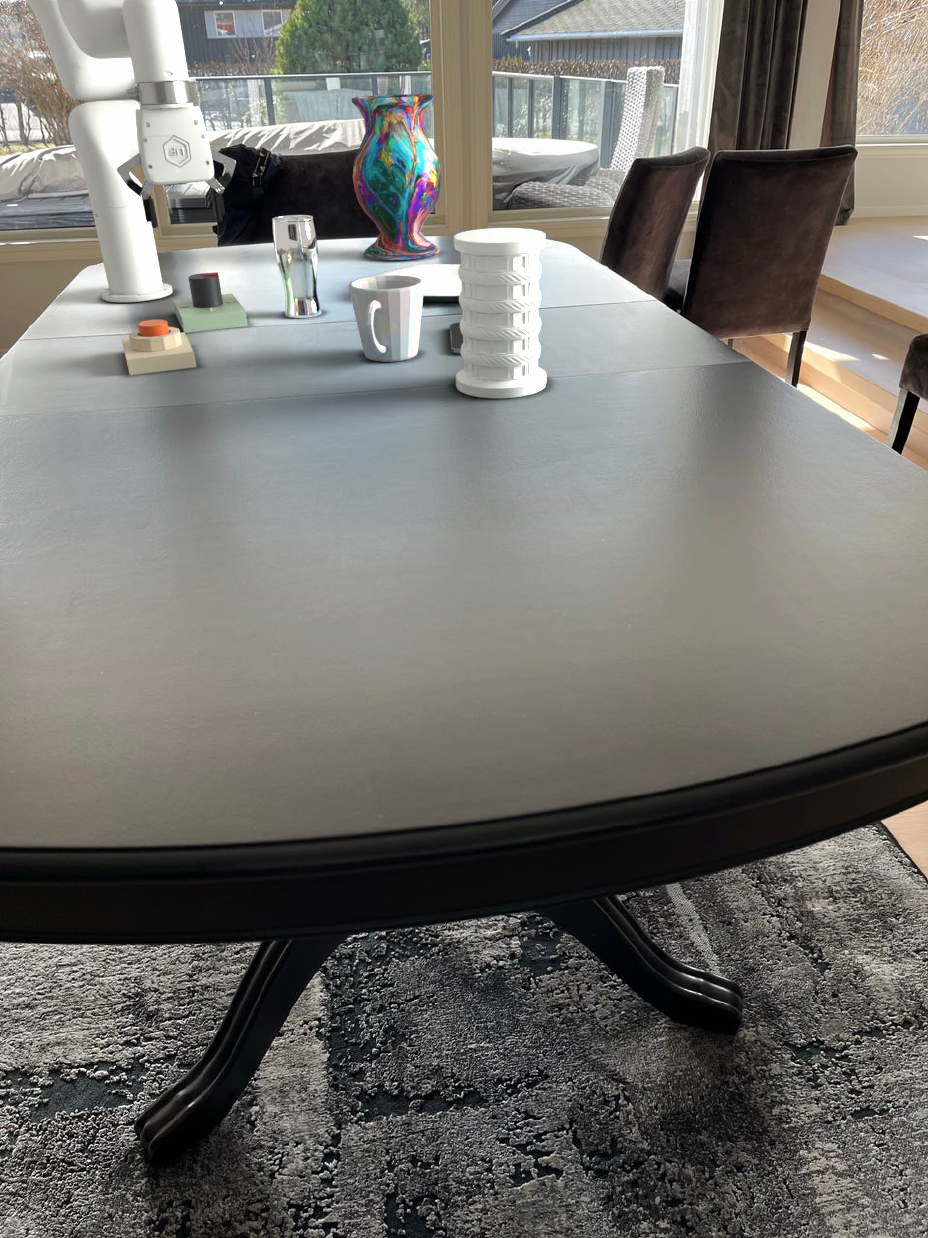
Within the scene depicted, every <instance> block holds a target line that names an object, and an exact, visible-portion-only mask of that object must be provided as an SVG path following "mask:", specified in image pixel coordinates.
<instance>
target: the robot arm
mask: <svg viewBox="0 0 928 1238" xmlns="http://www.w3.org/2000/svg"><path fill="white" fill-rule="evenodd" d="M25 1H26V2H27V4H28V5H29V7H30V8H31V10H32V12H33V14H34V16H35V17H36V20H37V22H38V23H39V26H40V28H41V32H42V35H43V37H44V40H45V43H46V45H47V48H48V51H49V53H50V57H51V59H52V62H53V64H54V65H53V66H54V68H55V70H56V73H57V75H58V78H59V81H60V83H61V86H62V87H63V89H64V90H65V92H66V93H67V94H68V95H69V96H70V97H71V98H73V99H75V100H79V101H85V102H84V103H81V104H78V105H77V106H75V107H74V108H73V109H72V110H71V112H70V113H69V115H68V123H67V124H68V125H67V126H68V131H69V135H70V138H71V141H72V144H73V147H74V149H75V153H76V155H77V158H78V161H79V164H80V166H81V170H82V172H83V173H82V174H83V175H84V176H83V177H84V181H85V184H86V188H87V193H88V196H89V201H90V207H91V210H92V215H93V220H94V224H95V229H96V234H97V239H98V243H99V248H100V253H101V258H102V263H103V267H104V271H105V276H106V281H107V285H108V288H105V289H103V290H102V291H101V293H100V295H101V298H102V300H103V301H106V302H109V303H140V302H148V301H154V300H159V299H162V298H165V297H169V296H170V295H172V294H173V291H174V290H173V286H172V285H171V284H169V283H164V282H163V278H162V273H161V269H160V263H159V257H158V251H157V246H156V240H155V235H154V229H157V228H158V227H159V223H158V218H157V214H156V208H155V203H154V199H153V198H152V196H151V194H152V193H153V191H154V189H155V187H156V186H158V185H159V186H161V185H179V184H190V183H191V184H192V183H202V182H205V183H206V184H207V185H208V186H209V187H210V188H211V193H210V198H211V205H212V210H213V211H212V212H213V217H214V221H216V222H217V223H223V216H226V211H225V204H224V203H225V202H224V197H223V193H224V191H225V189H227V186H228V185H229V184H230V182H231V181H232V178H233V175H234V171H235V169H236V165H237V162H236V160H235V159H234V158H232V157H229V156H228V155H225V154H223V153H221V152H218V151H217V150H214V149H212V148H211V145H210V141H209V137H208V132H207V128H206V124H205V121H204V117H203V114H202V110H201V109H200V106H199V105H194V101H193V94H192V89H191V88H192V87H191V82H190V78H189V77H190V75H189V70H188V65H187V58H186V57H187V56H186V52H185V45H184V37H183V33H182V25H181V21H180V13H179V8H178V5H177V2H176V0H25ZM86 101H87V102H86ZM213 161H215V162H218V163H220V164H222V165H223V172H222V174H221V175H220V177H219V178H218V180H217V179H216V178H215V168H214V162H213ZM139 165H140V168H141V171H142V175H143V178H144V182H143V183H141V181H139V179H138V178H137V177H136V175H134V174H133V173H132V170H134V169H135V168H137V167H138V166H139Z"/></svg>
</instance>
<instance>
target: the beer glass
mask: <svg viewBox="0 0 928 1238" xmlns="http://www.w3.org/2000/svg"><path fill="white" fill-rule="evenodd" d="M271 221H272V241H273V249H274V250H273V251H274V256H275V261H276V264H277V268H278V271H279V274H280V278H281V281H282V286H283V289H284V297H285V298H284V299H285V301H284V302H285V303H284V316H285V317H287V318H291V319H308V318H314V317H317V316H320V315H321V314H322V313H323V312H322V311H323V310H322V307H321V304H320V300H319V296H318V285H317V284H318V269H319V268H318V266H319V265H318V264H319V248H318V237H317V231H316V226H315V221H314V216H313V215H309V214H291V215H290V214H289V215H281V216H280V215H279V216H275V217H273V218H272V219H271Z"/></svg>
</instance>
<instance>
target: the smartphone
mask: <svg viewBox="0 0 928 1238" xmlns="http://www.w3.org/2000/svg"><path fill="white" fill-rule="evenodd" d="M449 335H450V351H451V353H454V354H461V353H460V352H461V346H462V344H463V334H462V333H461V330H460V322H454V323H451V324H450V325H449Z"/></svg>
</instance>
